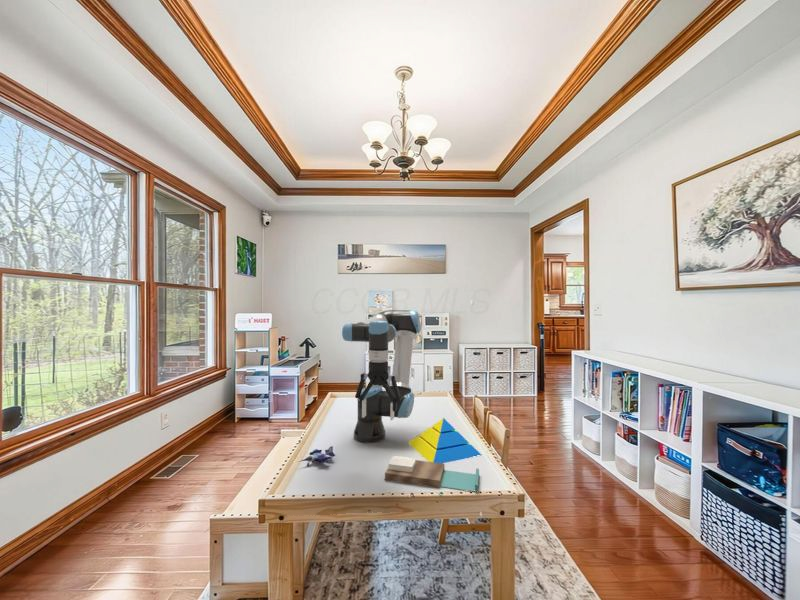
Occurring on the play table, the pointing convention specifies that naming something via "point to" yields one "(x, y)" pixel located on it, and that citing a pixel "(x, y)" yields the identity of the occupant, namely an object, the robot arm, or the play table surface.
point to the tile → (402, 464)
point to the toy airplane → (320, 456)
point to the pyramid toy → (443, 444)
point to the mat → (460, 480)
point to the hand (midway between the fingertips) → (378, 417)
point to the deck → (419, 474)
